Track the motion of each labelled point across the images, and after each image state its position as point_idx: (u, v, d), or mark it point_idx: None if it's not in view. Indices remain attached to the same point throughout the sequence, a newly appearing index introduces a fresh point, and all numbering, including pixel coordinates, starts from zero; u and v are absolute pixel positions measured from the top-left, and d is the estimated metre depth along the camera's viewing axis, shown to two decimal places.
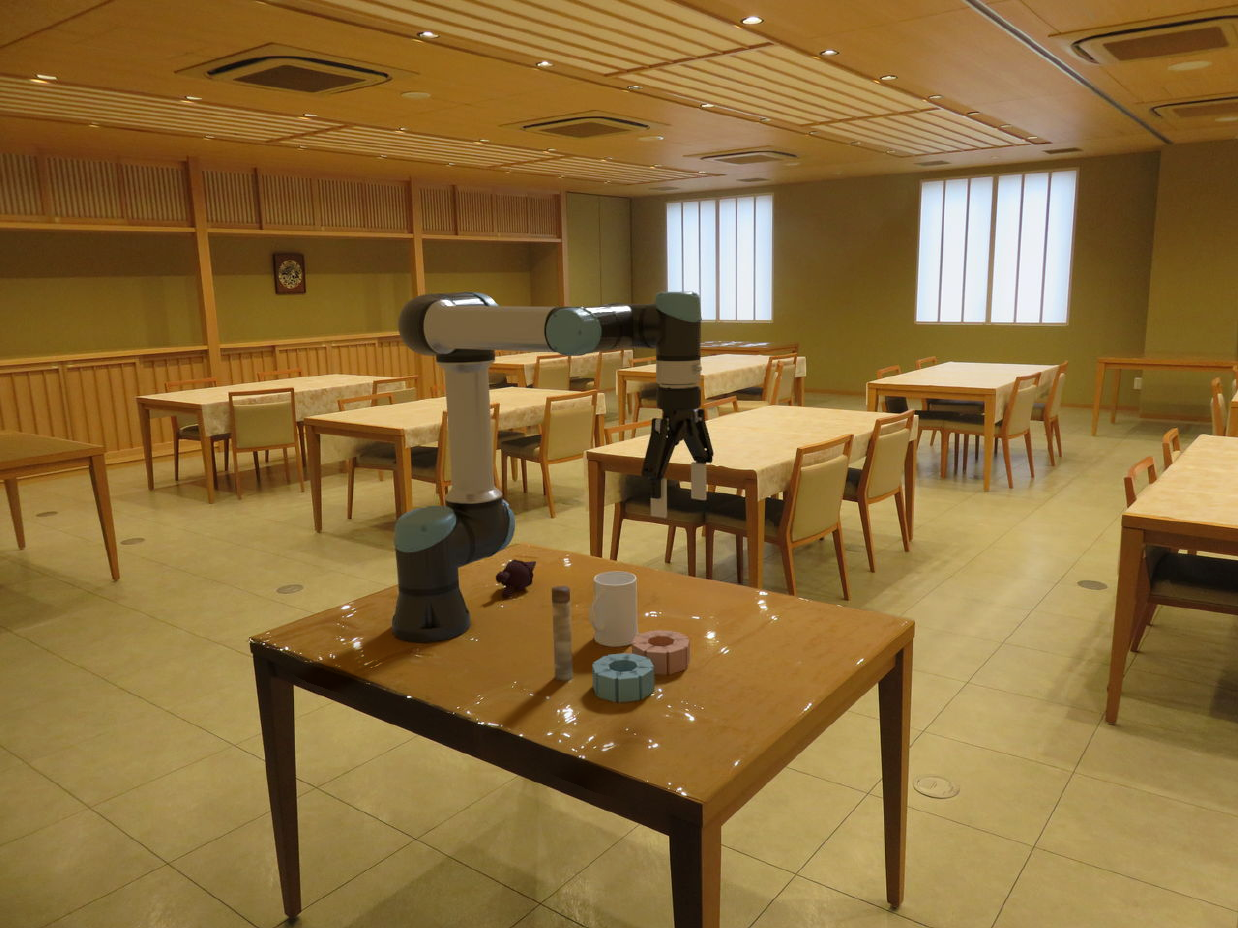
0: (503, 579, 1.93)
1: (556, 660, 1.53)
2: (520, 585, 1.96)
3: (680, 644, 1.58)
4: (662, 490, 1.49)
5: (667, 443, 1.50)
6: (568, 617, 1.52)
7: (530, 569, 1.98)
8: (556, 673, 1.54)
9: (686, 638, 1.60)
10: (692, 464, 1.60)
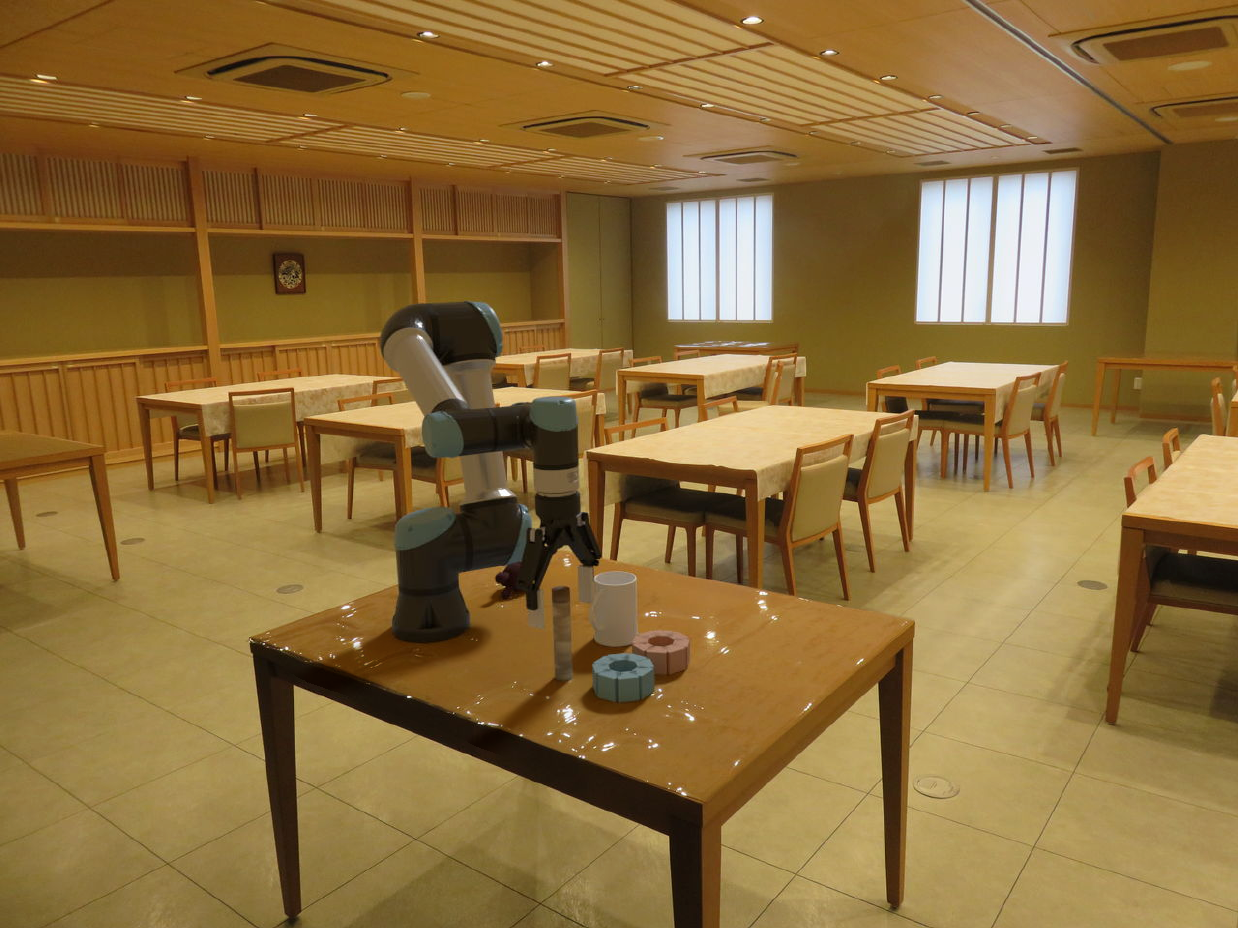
0: (502, 580, 1.92)
1: (556, 660, 1.53)
2: None
3: (680, 644, 1.58)
4: (538, 601, 1.45)
5: (544, 552, 1.46)
6: (568, 617, 1.52)
7: None
8: (556, 673, 1.54)
9: (686, 638, 1.60)
10: (578, 567, 1.57)
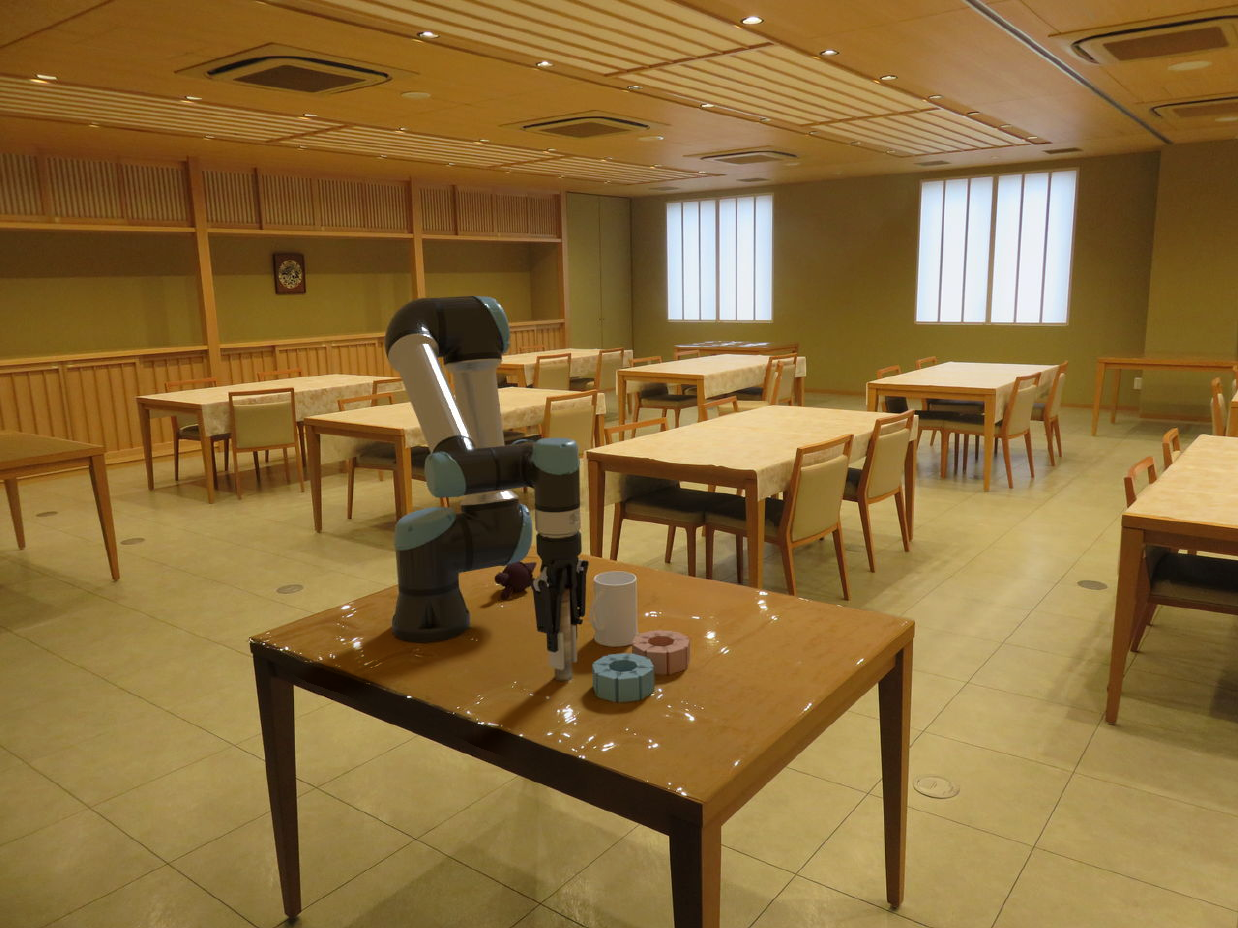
0: (502, 580, 1.92)
1: None
2: (519, 586, 1.95)
3: (680, 644, 1.58)
4: (559, 643, 1.51)
5: (553, 596, 1.50)
6: (568, 617, 1.52)
7: (530, 570, 1.97)
8: (555, 673, 1.54)
9: (686, 638, 1.60)
10: None
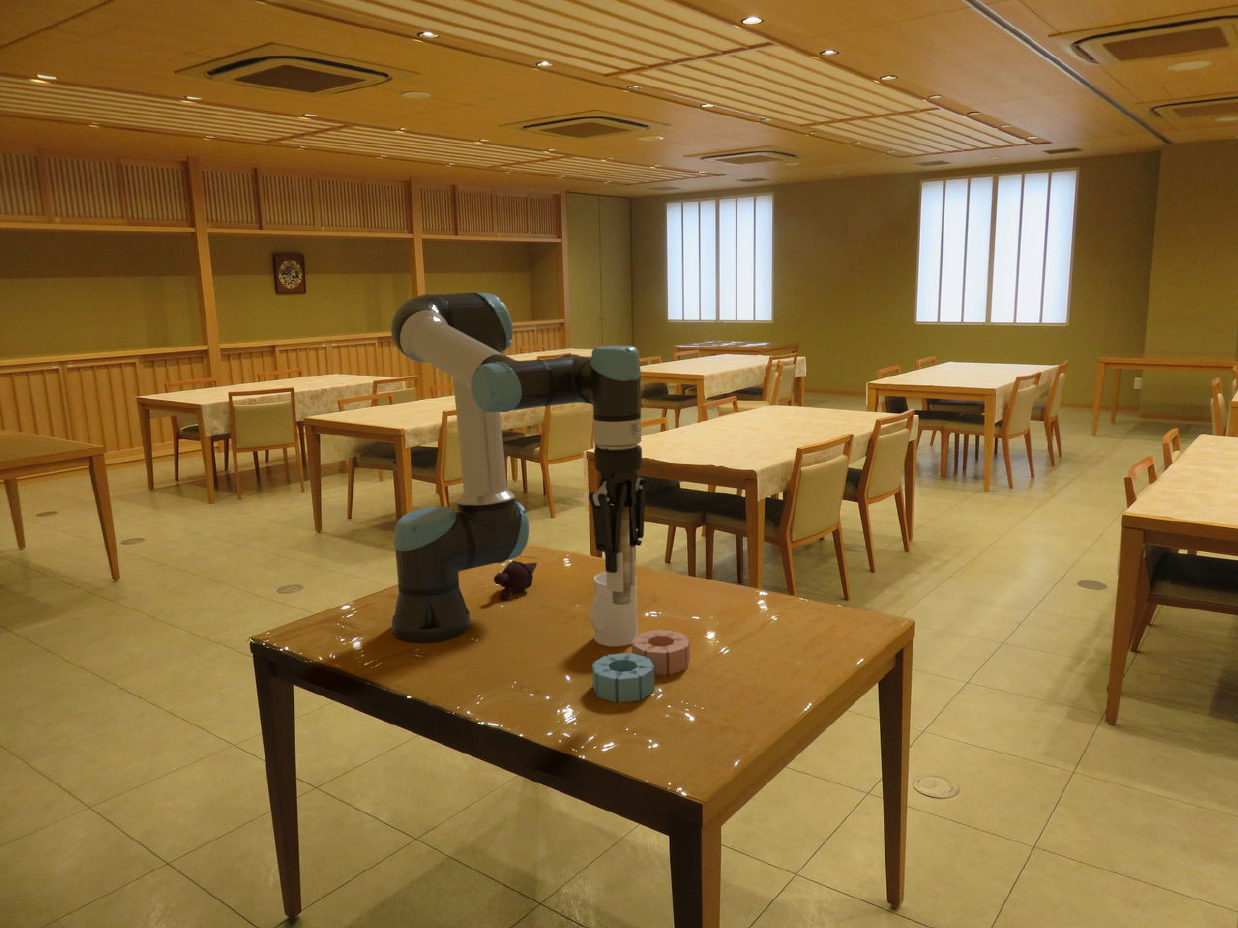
0: (501, 580, 1.92)
1: None
2: (519, 587, 1.95)
3: (680, 644, 1.58)
4: (618, 564, 1.44)
5: (612, 513, 1.42)
6: (627, 536, 1.44)
7: (529, 571, 1.96)
8: (614, 596, 1.46)
9: (686, 638, 1.60)
10: None
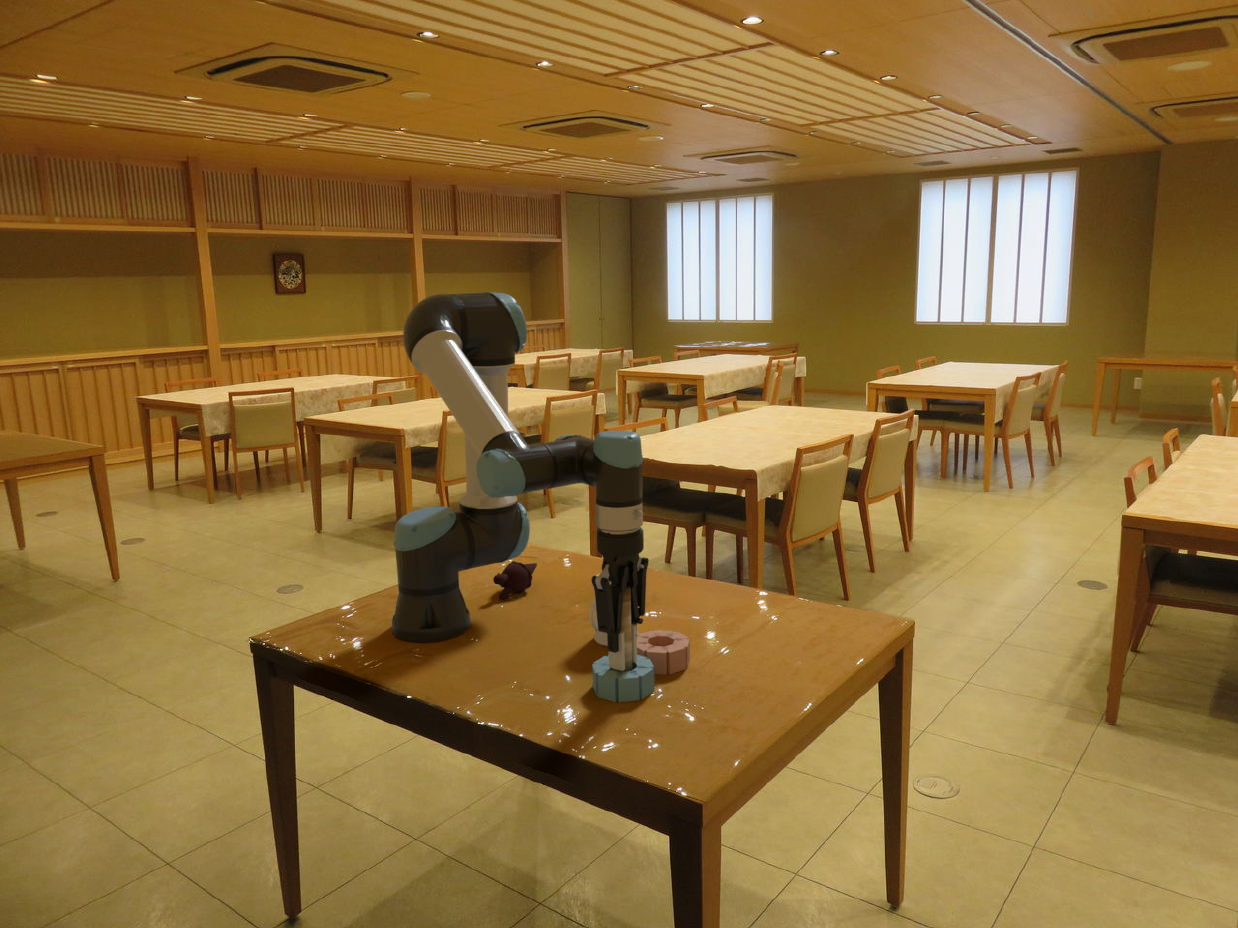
0: (501, 581, 1.91)
1: None
2: (518, 587, 1.95)
3: (680, 644, 1.58)
4: (620, 643, 1.46)
5: (614, 594, 1.45)
6: (629, 616, 1.47)
7: (529, 571, 1.96)
8: None
9: (686, 638, 1.60)
10: None
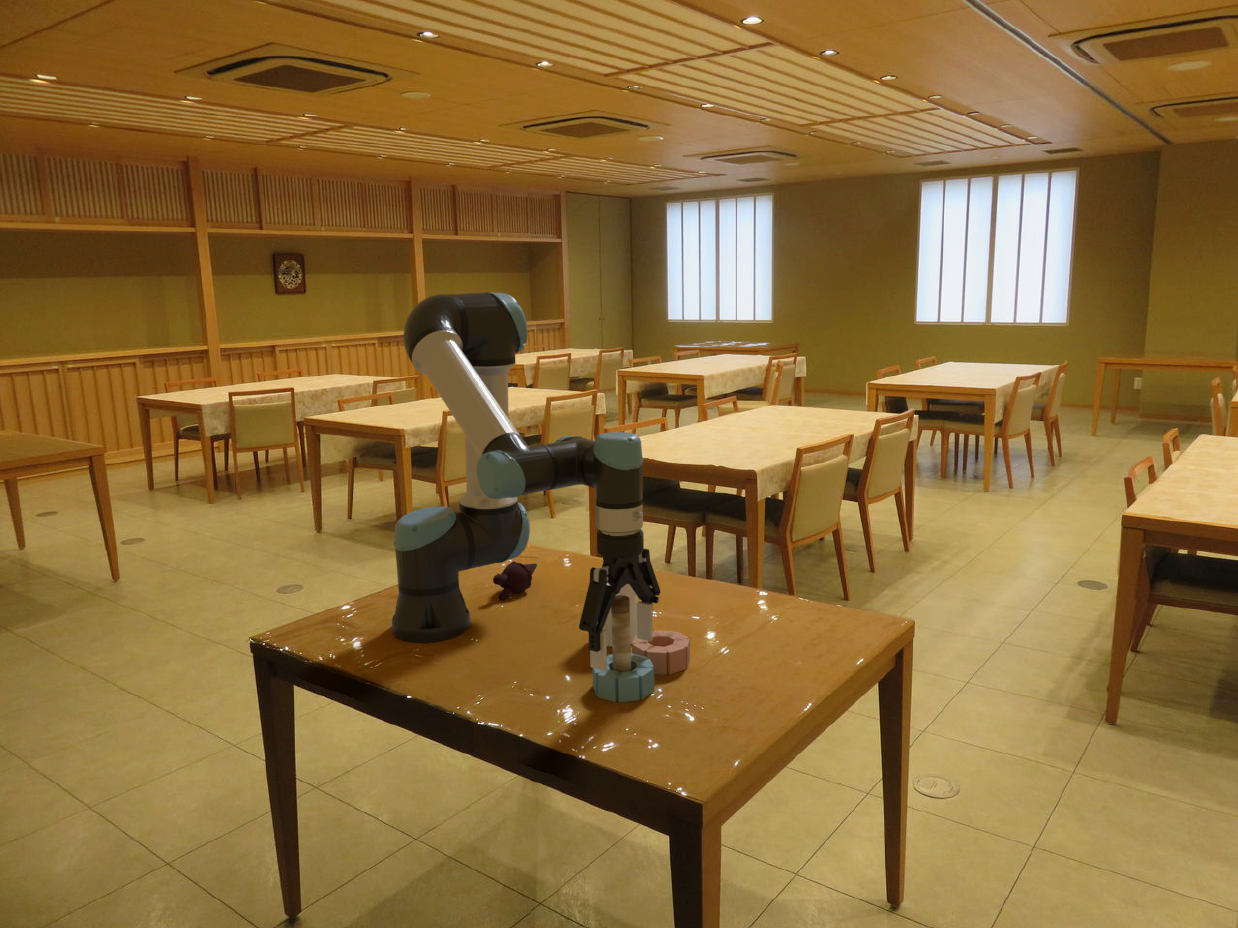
0: (500, 581, 1.91)
1: None
2: (518, 587, 1.94)
3: (680, 644, 1.58)
4: (601, 642, 1.42)
5: (607, 592, 1.43)
6: (628, 628, 1.47)
7: (529, 572, 1.96)
8: None
9: (686, 638, 1.60)
10: (637, 604, 1.54)
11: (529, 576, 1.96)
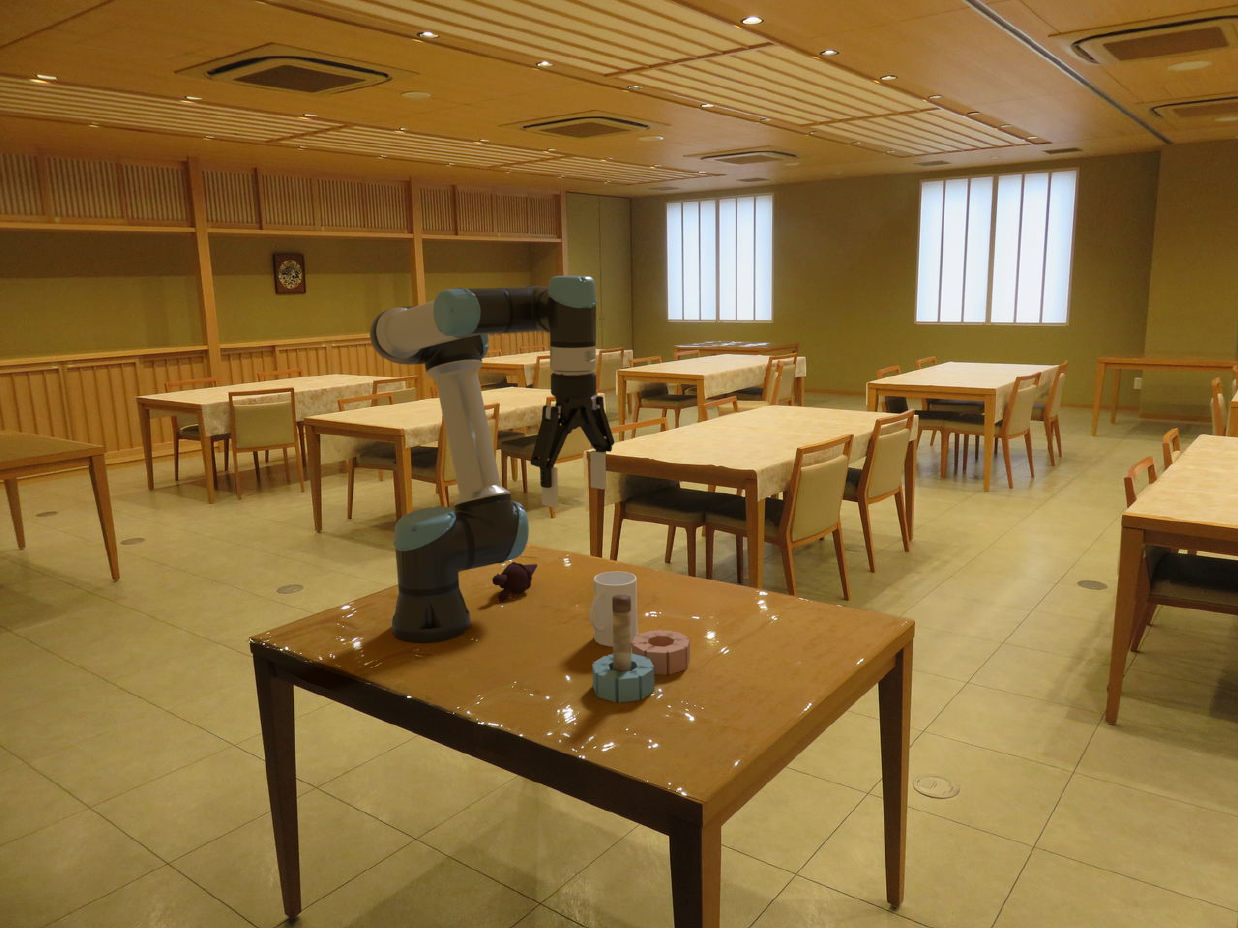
0: (500, 582, 1.91)
1: None
2: (518, 588, 1.94)
3: (680, 644, 1.58)
4: (552, 479, 1.46)
5: (559, 431, 1.46)
6: (629, 627, 1.47)
7: (529, 572, 1.95)
8: None
9: (686, 638, 1.60)
10: (591, 452, 1.57)
11: (529, 577, 1.96)
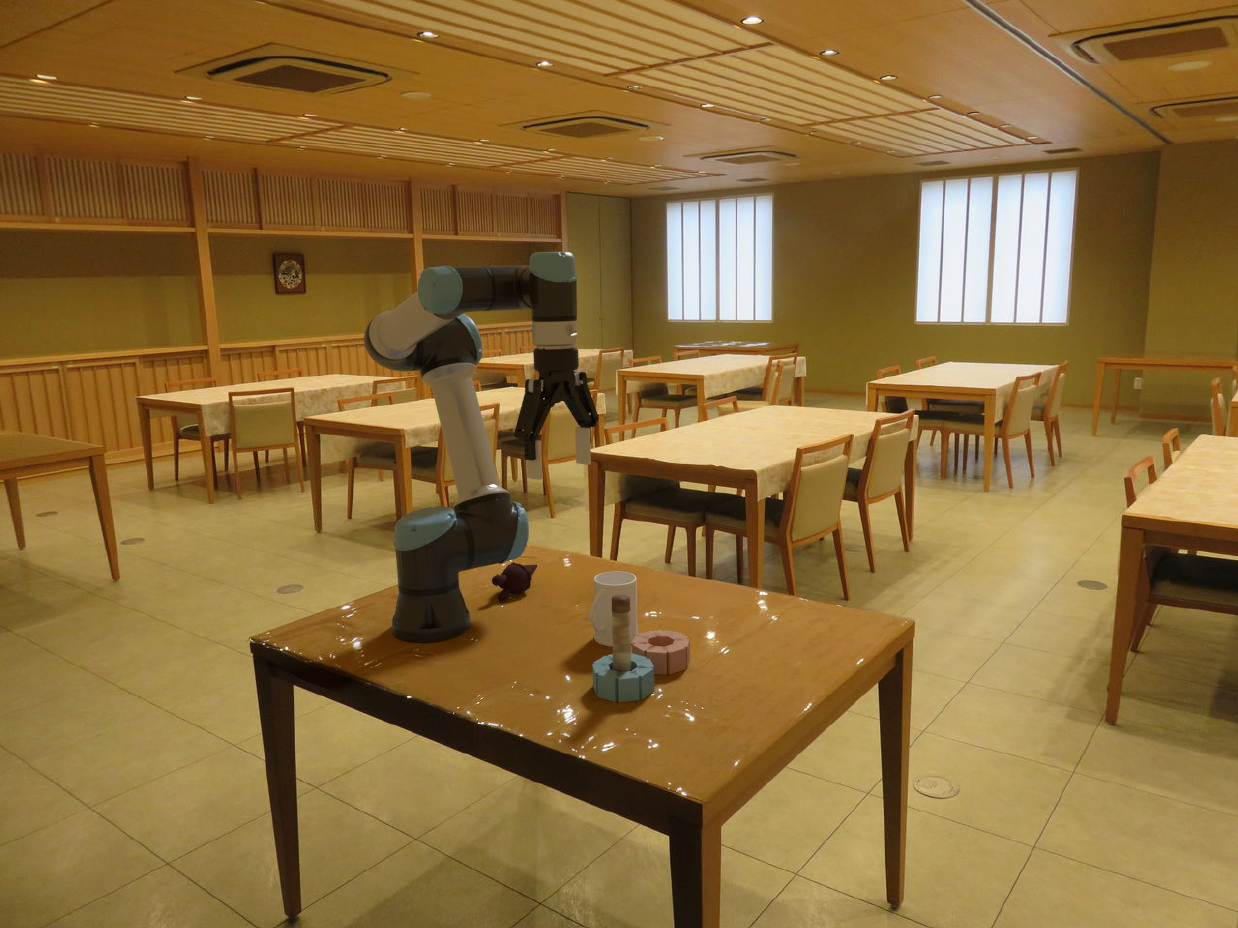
0: (499, 582, 1.91)
1: None
2: (517, 588, 1.94)
3: (680, 644, 1.58)
4: (536, 452, 1.48)
5: (542, 405, 1.49)
6: (628, 627, 1.47)
7: (528, 573, 1.95)
8: None
9: (686, 638, 1.60)
10: (576, 428, 1.59)
11: (528, 577, 1.95)
